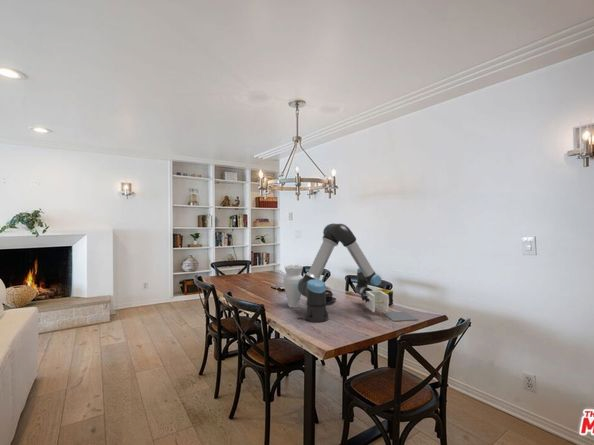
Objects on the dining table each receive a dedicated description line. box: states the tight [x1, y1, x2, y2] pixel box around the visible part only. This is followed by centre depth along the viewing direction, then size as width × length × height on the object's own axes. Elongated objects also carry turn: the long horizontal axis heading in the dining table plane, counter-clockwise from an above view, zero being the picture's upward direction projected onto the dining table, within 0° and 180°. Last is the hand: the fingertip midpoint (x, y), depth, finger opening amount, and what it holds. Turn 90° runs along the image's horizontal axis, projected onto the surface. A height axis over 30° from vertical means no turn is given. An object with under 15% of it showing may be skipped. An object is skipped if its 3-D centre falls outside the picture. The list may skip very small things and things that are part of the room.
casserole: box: [326, 289, 337, 305], centre depth 224 cm, size 25×19×8 cm
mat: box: [382, 311, 419, 323], centre depth 190 cm, size 16×16×1 cm
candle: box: [375, 288, 394, 307], centre depth 219 cm, size 10×10×10 cm
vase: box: [283, 264, 304, 309], centre depth 215 cm, size 15×15×29 cm
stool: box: [365, 290, 390, 313], centre depth 189 cm, size 10×12×10 cm
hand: (380, 301), depth 184 cm, fingers closed on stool, 10 cm apart
